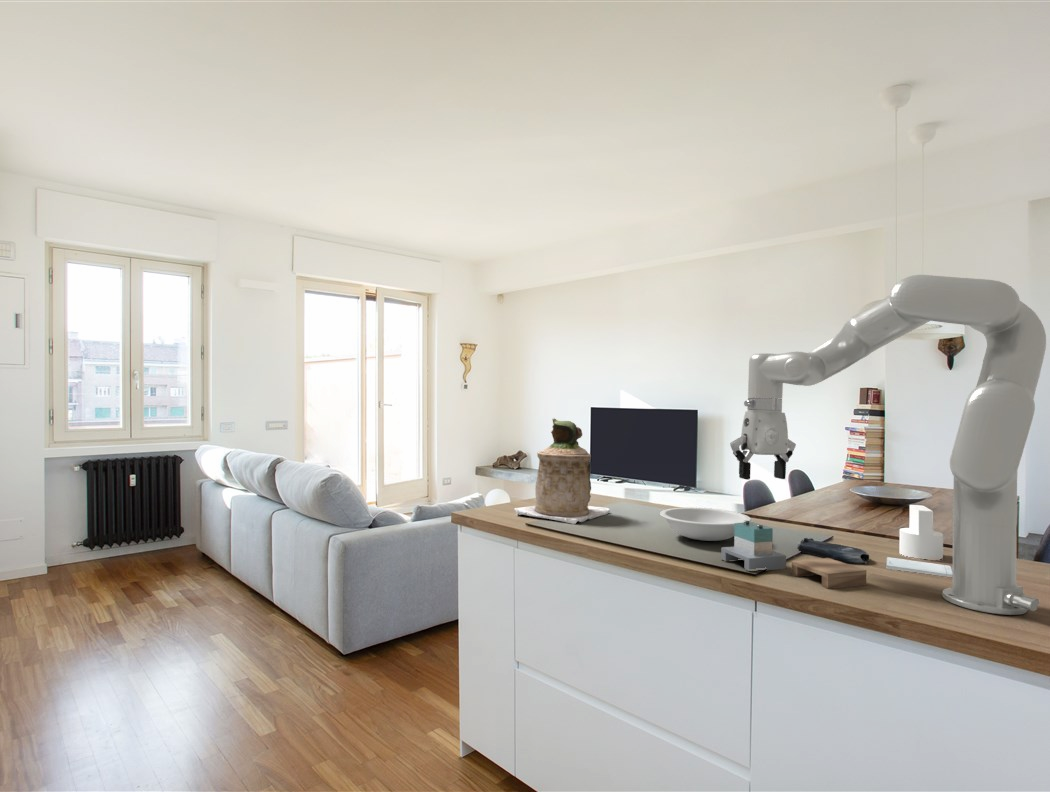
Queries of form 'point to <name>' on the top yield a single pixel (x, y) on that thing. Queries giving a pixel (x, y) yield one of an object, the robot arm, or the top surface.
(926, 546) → the cylinder with rectangular tab
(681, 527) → the soup bowl
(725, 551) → the stand
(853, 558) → the electronic device
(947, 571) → the hard drive
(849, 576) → the stand
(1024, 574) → the top surface
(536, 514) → the cookie jar
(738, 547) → the block
